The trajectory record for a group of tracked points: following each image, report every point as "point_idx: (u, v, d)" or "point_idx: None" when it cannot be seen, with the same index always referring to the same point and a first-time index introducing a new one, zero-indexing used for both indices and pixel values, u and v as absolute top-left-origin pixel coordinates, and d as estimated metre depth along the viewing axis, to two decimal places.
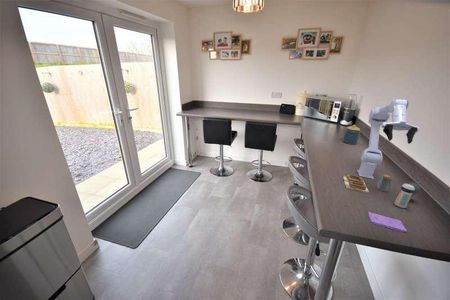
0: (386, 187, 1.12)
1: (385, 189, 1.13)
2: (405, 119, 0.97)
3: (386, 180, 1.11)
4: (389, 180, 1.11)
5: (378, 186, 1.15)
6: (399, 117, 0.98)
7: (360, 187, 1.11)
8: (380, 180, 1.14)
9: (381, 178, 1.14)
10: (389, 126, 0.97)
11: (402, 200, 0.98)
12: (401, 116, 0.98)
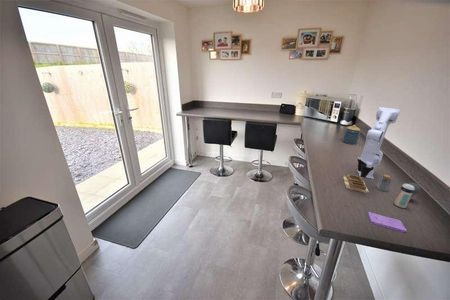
0: (386, 187, 1.12)
1: (385, 189, 1.13)
2: (363, 155, 1.06)
3: (386, 180, 1.11)
4: (389, 180, 1.11)
5: (378, 186, 1.15)
6: (362, 152, 1.08)
7: (360, 187, 1.11)
8: (380, 180, 1.14)
9: (381, 178, 1.14)
10: None
11: (402, 200, 0.98)
12: None
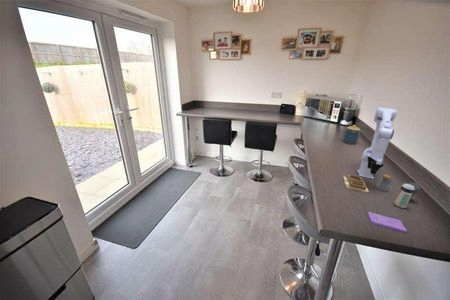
0: (386, 187, 1.12)
1: (385, 189, 1.13)
2: (373, 152, 1.10)
3: (386, 180, 1.11)
4: (389, 180, 1.11)
5: (378, 186, 1.15)
6: (372, 150, 1.12)
7: (360, 187, 1.11)
8: (380, 180, 1.14)
9: (381, 178, 1.14)
10: (367, 157, 1.18)
11: (402, 200, 0.98)
12: (372, 149, 1.12)
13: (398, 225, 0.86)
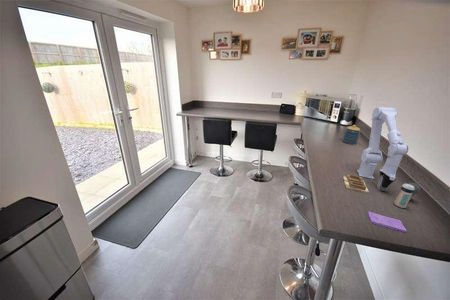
0: None
1: (385, 189, 1.13)
2: (385, 167, 1.10)
3: None
4: None
5: (378, 186, 1.15)
6: (384, 165, 1.12)
7: (360, 187, 1.11)
8: (380, 180, 1.14)
9: (381, 178, 1.14)
10: None
11: (402, 200, 0.98)
12: (385, 164, 1.11)
13: (398, 225, 0.86)
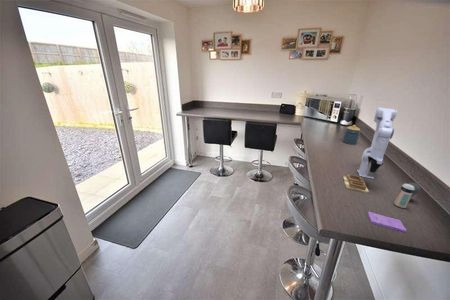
0: (374, 173, 1.13)
1: (373, 175, 1.13)
2: (373, 152, 1.10)
3: None
4: None
5: (367, 172, 1.16)
6: (372, 149, 1.12)
7: (360, 187, 1.11)
8: (369, 166, 1.15)
9: (370, 164, 1.14)
10: (368, 158, 1.17)
11: (402, 200, 0.98)
12: (372, 149, 1.11)
13: (398, 225, 0.86)
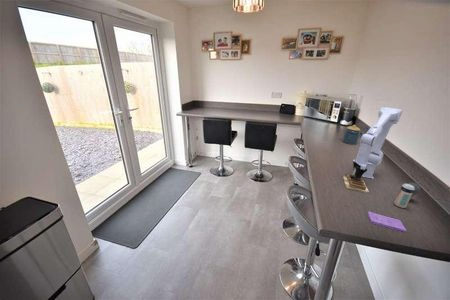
0: (359, 179, 1.18)
1: None
2: (357, 157, 1.15)
3: None
4: None
5: (352, 178, 1.20)
6: (357, 155, 1.17)
7: (360, 187, 1.11)
8: (353, 172, 1.19)
9: (354, 170, 1.19)
10: (353, 162, 1.22)
11: (402, 200, 0.98)
12: (357, 154, 1.16)
13: (398, 225, 0.86)
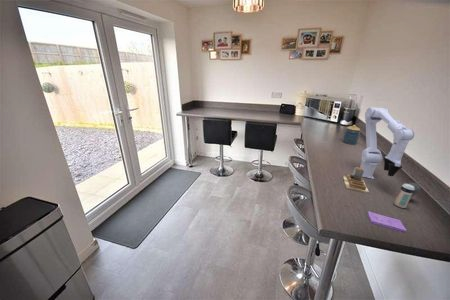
0: (359, 179, 1.18)
1: None
2: (391, 154, 1.09)
3: (358, 172, 1.16)
4: (361, 172, 1.16)
5: (352, 178, 1.20)
6: None
7: (360, 187, 1.11)
8: (353, 172, 1.19)
9: (354, 170, 1.19)
10: (384, 159, 1.16)
11: (402, 200, 0.98)
12: (390, 151, 1.10)
13: (398, 225, 0.86)
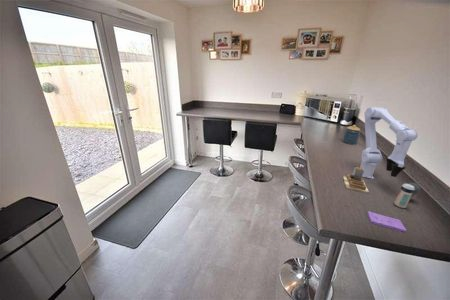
0: (359, 179, 1.18)
1: None
2: (394, 154, 1.08)
3: (358, 172, 1.16)
4: (361, 172, 1.16)
5: (352, 178, 1.20)
6: (392, 152, 1.10)
7: (360, 187, 1.11)
8: (353, 172, 1.19)
9: (354, 170, 1.19)
10: (386, 159, 1.16)
11: (402, 200, 0.98)
12: (393, 151, 1.09)
13: (398, 225, 0.86)
